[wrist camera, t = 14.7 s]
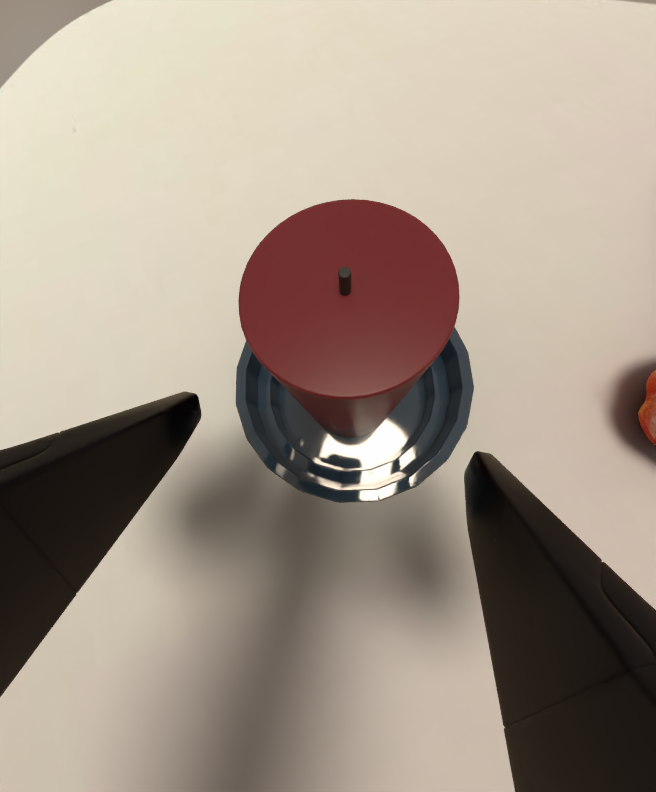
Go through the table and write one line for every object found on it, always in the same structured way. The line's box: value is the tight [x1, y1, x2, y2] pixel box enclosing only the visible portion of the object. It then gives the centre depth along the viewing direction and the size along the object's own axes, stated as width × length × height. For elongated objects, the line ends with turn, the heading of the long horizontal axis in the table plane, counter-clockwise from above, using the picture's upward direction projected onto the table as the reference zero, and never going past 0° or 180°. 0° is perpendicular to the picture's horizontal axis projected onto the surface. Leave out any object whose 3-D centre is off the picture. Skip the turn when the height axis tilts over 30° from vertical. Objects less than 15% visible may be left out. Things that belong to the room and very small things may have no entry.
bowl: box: [236, 327, 474, 503], centre depth 18 cm, size 13×13×4 cm
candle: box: [239, 199, 459, 437], centre depth 13 cm, size 6×6×13 cm
